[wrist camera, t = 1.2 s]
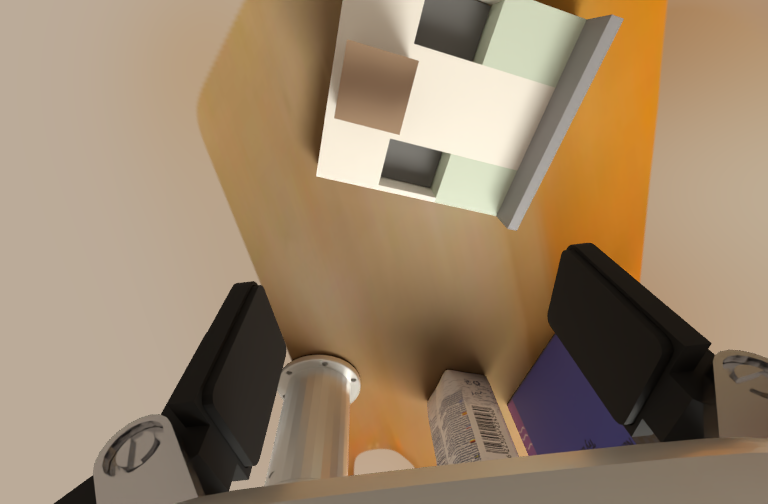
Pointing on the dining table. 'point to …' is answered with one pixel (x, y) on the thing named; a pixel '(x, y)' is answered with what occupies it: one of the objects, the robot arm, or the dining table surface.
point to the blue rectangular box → (564, 409)
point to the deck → (467, 99)
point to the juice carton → (467, 421)
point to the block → (374, 87)
